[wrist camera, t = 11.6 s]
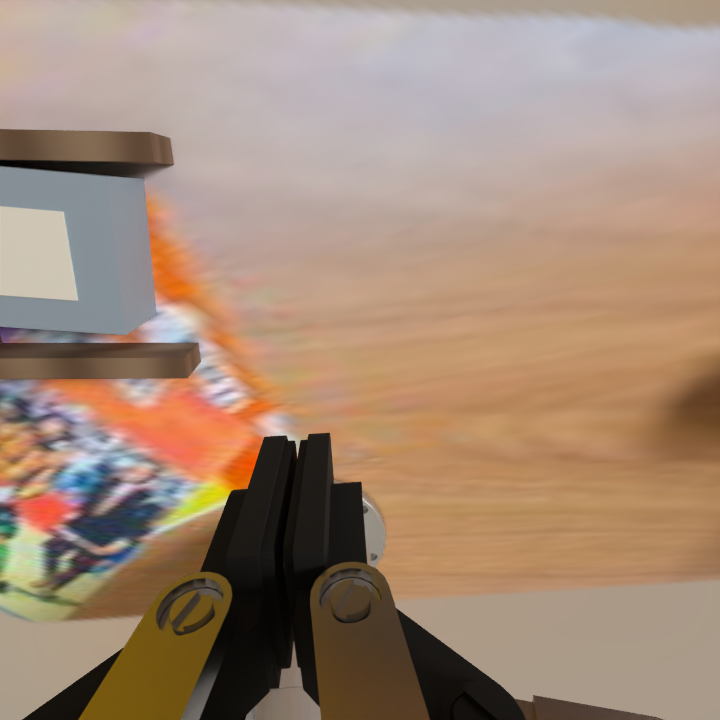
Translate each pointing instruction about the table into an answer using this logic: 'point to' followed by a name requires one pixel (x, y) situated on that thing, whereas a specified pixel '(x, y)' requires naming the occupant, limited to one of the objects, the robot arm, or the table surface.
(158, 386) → the table surface
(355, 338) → the table surface
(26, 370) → the display bay
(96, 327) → the carton
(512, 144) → the table surface
